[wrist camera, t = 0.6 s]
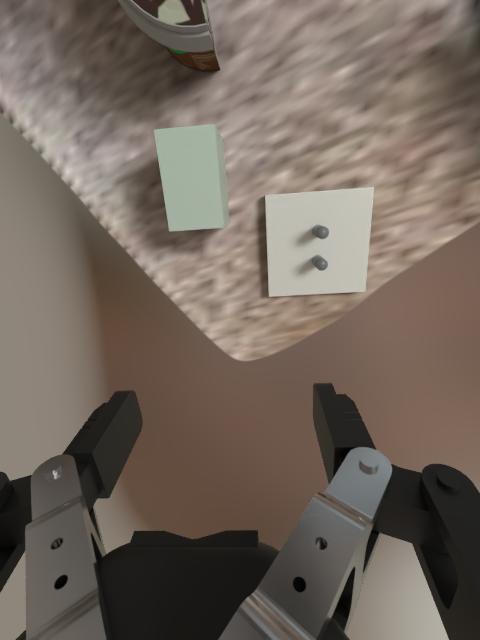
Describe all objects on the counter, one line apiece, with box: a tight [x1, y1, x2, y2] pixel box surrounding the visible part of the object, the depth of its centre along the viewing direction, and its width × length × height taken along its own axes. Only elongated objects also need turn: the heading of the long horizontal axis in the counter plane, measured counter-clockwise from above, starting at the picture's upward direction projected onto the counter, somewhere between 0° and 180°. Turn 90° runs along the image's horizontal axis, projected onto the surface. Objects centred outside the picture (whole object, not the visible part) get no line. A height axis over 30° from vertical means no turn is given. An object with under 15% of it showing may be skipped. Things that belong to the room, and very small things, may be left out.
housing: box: [154, 124, 230, 232], centre depth 29 cm, size 8×5×7 cm, turn 4°
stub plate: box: [265, 187, 374, 297], centre depth 32 cm, size 11×11×4 cm
